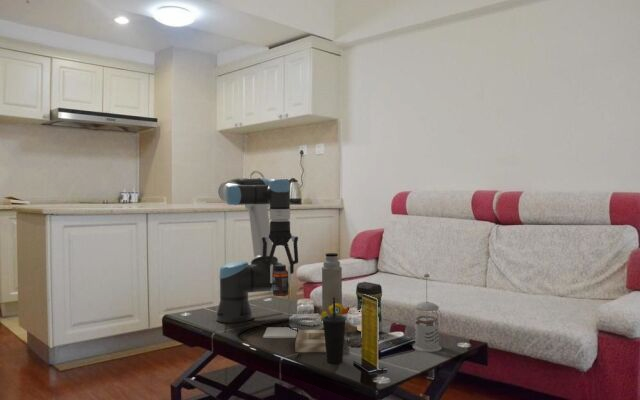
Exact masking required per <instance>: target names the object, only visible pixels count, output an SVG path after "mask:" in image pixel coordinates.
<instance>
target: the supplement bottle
mask: <svg viewBox="0 0 640 400" xmlns="http://www.w3.org/2000/svg"><path fill="white" fill-rule="evenodd" d="M282 264H283V263H282ZM282 264H281V265H275V271H274V272H273V291H272V295H273V296H275V297H287V296H288V295H289V294H290V283H288V269H287V267H286V264H283V265H282Z"/></svg>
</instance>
